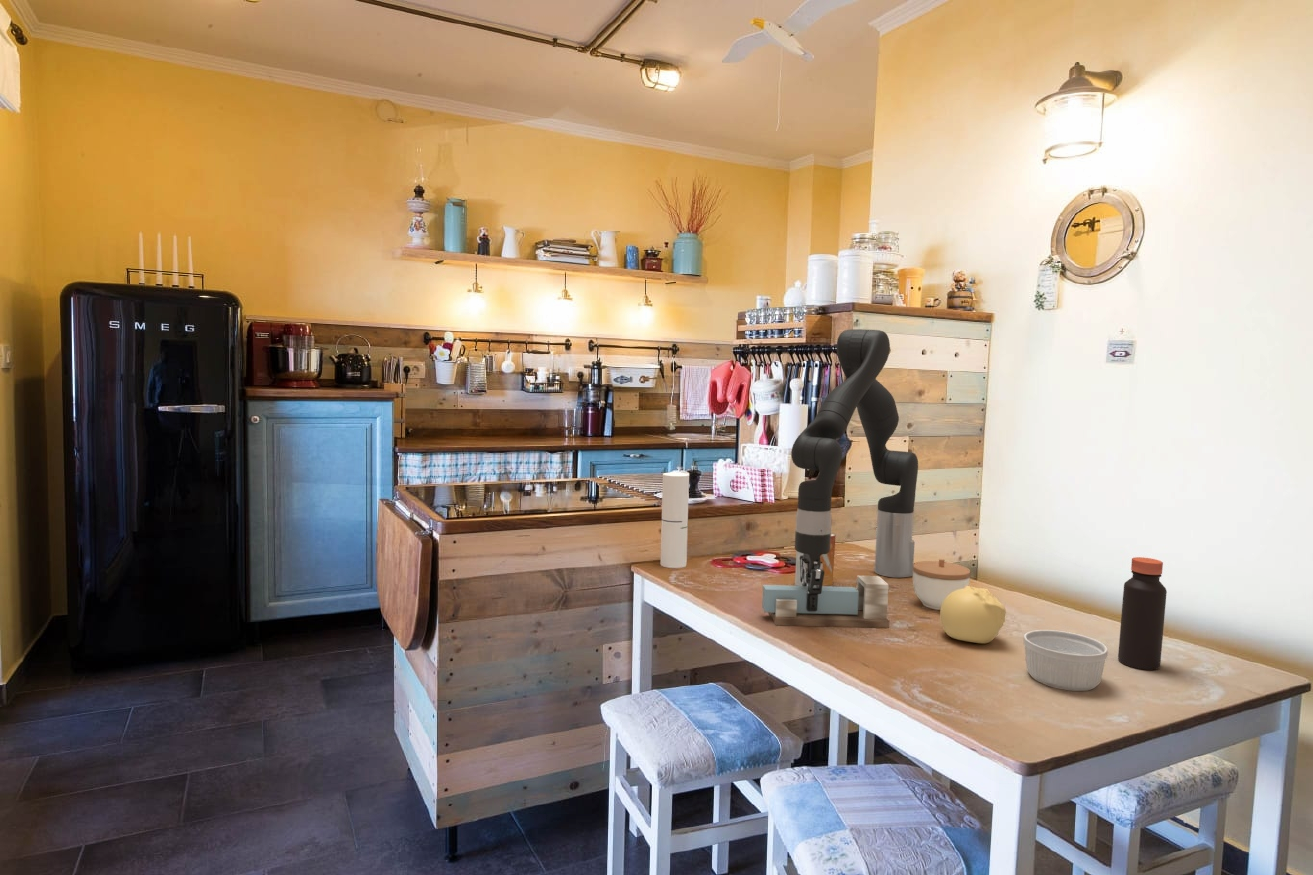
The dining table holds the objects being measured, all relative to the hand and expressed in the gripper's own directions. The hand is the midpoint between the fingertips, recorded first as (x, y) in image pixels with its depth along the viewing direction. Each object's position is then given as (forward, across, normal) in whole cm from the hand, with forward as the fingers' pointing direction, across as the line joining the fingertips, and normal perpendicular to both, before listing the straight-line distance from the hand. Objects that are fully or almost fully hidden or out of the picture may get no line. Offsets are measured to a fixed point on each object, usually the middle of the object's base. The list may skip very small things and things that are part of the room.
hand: (809, 607), depth 165 cm
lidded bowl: (+3, +12, -33) cm, 35 cm away
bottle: (+3, -22, -58) cm, 62 cm away
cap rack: (+3, 0, -4) cm, 5 cm away
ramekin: (+3, -30, -39) cm, 49 cm away
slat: (+1, 0, 0) cm, 1 cm away
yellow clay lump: (+3, -10, -31) cm, 33 cm away
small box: (+3, +27, -7) cm, 28 cm away
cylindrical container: (+3, +44, +28) cm, 52 cm away
